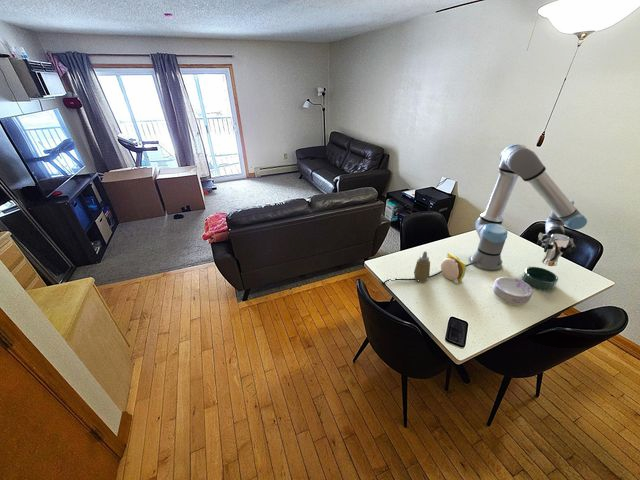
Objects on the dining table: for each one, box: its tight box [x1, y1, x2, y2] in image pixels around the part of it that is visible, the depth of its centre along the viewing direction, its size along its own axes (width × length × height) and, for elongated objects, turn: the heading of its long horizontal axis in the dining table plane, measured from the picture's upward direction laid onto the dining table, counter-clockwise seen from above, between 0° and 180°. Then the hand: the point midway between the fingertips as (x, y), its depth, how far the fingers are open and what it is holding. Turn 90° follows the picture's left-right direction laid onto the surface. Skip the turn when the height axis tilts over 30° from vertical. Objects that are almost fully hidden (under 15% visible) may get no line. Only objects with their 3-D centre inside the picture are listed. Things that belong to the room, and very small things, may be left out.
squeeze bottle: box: [413, 250, 431, 283], centre depth 141 cm, size 8×8×18 cm
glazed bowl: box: [521, 266, 559, 292], centre depth 136 cm, size 14×14×6 cm
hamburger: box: [440, 252, 467, 284], centre depth 142 cm, size 12×8×12 cm
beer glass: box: [541, 234, 570, 267], centre depth 128 cm, size 7×7×15 cm
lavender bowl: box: [492, 276, 534, 306], centre depth 127 cm, size 15×15×8 cm
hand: (556, 252), depth 124 cm, fingers closed on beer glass, 7 cm apart
